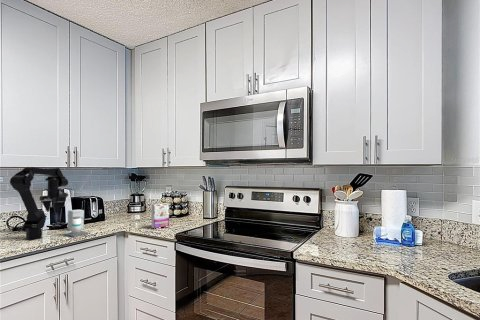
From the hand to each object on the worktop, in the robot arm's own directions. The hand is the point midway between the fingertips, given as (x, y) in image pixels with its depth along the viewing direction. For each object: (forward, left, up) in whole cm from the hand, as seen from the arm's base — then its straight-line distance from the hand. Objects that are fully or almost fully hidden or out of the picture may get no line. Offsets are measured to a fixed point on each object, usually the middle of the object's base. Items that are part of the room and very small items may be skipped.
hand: (52, 212), depth 172 cm
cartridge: (+4, -19, -12) cm, 23 cm away
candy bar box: (+44, -49, -13) cm, 67 cm away
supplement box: (+14, -2, -13) cm, 19 cm away
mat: (+4, -19, -13) cm, 23 cm away
